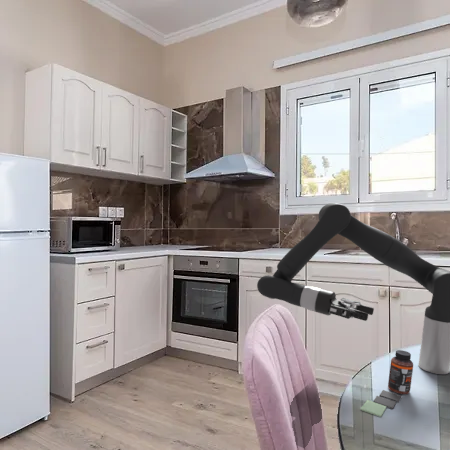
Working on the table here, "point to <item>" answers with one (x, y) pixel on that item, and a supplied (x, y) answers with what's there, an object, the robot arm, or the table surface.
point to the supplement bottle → (400, 373)
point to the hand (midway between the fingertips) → (370, 314)
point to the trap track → (381, 403)
